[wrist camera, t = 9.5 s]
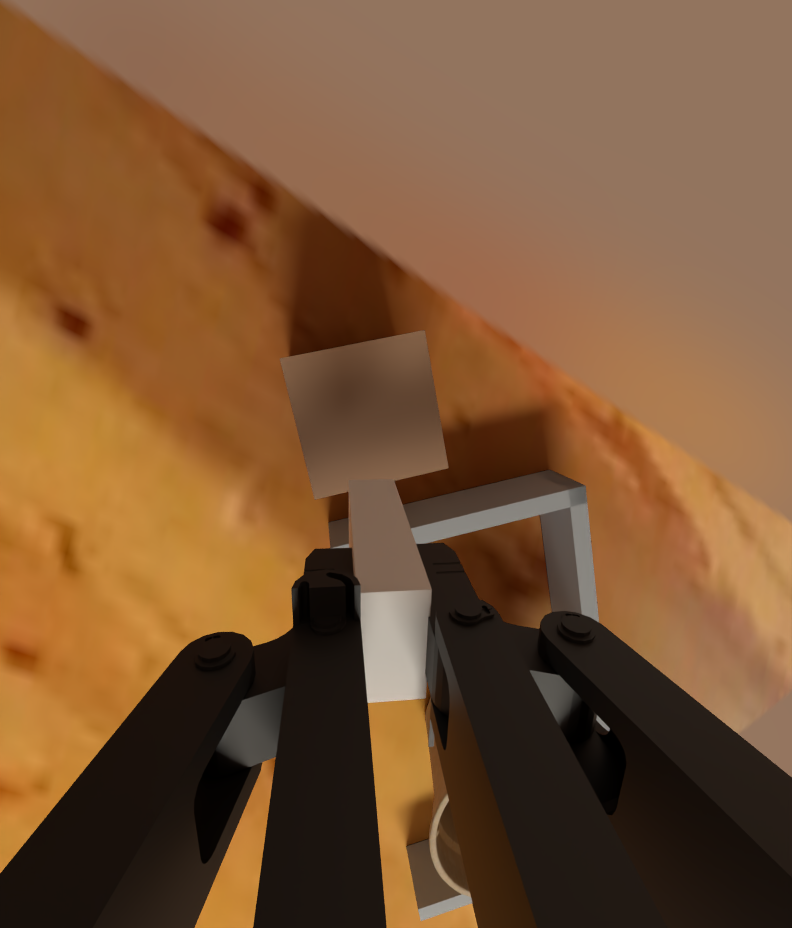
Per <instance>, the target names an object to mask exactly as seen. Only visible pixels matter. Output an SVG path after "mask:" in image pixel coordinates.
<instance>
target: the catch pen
mask: <svg viewBox="0 0 792 928" xmlns="http://www.w3.org/2000/svg"><path fill="white" fill-rule="evenodd" d="M403 508H404V511H405V513H406V516H407V519H408V522H409V525H410V528H411V531H412V534H413V537H414V539H415V542H416V544H425V543H429V542H433V541H437V540H441V539H445V538H449V537H453V536H457V535H461V534H465V533H469V532H473V531H477V530H481V529H485V528H489V527H493V526H497V525H501V524H505V523H509V522H513V521H517V520H521V519H525V518H529V517H533V516H537V515H540V519H541V527H542V535H543V543H544V551H545V559H546V567H547V575H548V583H549V591H550V599H551V607H552V612H557V611H571V612H576V613H580V614H582V615H585V616H588V617H591V618H592V619H594V620H596V621H597V622H599V618H598V607H597V597H596V587H595V577H594V567H593V557H592V547H591V537H590V526H589V516H588V506H587V496H586V486H585V485H583V484H581V483H578V482H576V481H574V480H572V479H570V478H567V477H565V476H563V475H561V474H558V473H556V472H554V471H552V470H546V471H542V472H538V473H534V474H529V475H525V476H521V477H517V478H513V479H508V480H504V481H500V482H496V483H492V484H488V485H483V486H479V487H475V488H471V489H467V490H462V491H458V492H454V493H450V494H446V495H441V496H437V497H433V498H429V499H425V500H421V501H416V502H412V503H408V504H404V505H403ZM328 523H329V536H330V548H349V518H345V519H341V520H337V521H333V522H328ZM596 720H597V721H598V722H599V723H600V724H601V725H602V727H604V728H605V729H606V730H607V731H609V730H610V729H609V727H608V726H607V725H606V724H605V723H604V722H603V721H602V720H601V719H600V718H599V717H598V716H597V719H596ZM406 847H407V853H408V858H409V863H410V869H411V874H412V879H413V885H414V890H415V895H416V901H417V906H418V911H419V915H420V919H421V921H422V920H425V919H428V918H431V917H434V916H437V915H440V914H442V913H445V912H448V911H451V910H454V909H457V908H460V907H462V906H465V905H468V904H471V903H472V899H471V897H469V896H466V895H463V894H461V893H459V892H457V891H456V890H454V889H453V888H452V887H450V886H449V885H448V884H447V883H446V882H445V881H444V880H443V879H442V878H441V876H440V875H439V874H438V872H437V870H436V868H435V866H434V863H433V861H432V857H431V853H430V846H429V839H427V840H424V841H421V842H418V843H415V844H412V845H409V846H406Z"/></svg>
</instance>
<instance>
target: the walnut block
mask: <svg viewBox="0 0 792 928" xmlns="http://www.w3.org/2000/svg"><path fill="white" fill-rule="evenodd" d="M280 362H281V366H282V370H283V374H284V378H285V382H286V386H287V390H288V394H289V398H290V402H291V406H292V410H293V414H294V418H295V422H296V426H297V430H298V434H299V438H300V442H301V446H302V450H303V454H304V458H305V462H306V466H307V470H308V474H309V479H310V483H311V487H312V491H313V495H314V499H315V500H316V499H320V498H324V497H328V496H333V495H337V494H341V493H345V492H349V491H348V480H373V479H394V481H396V480H401V479H405V478H409V477H413V476H418V475H422V474H426V473H430V472H435V471H439V470H443V469H447V468H448V462H447V456H446V450H445V444H444V439H443V433H442V427H441V421H440V416H439V410H438V404H437V398H436V392H435V387H434V381H433V375H432V369H431V363H430V358H429V352H428V346H427V340H426V335H425V330H422V331H417V332H412V333H407V334H402V335H397V336H391V337H386V338H381V339H376V340H371V341H366V342H361V343H356V344H351V345H346V346H341V347H336V348H331V349H326V350H320V351H315V352H310V353H305V354H300V355H295V356H290V357H285V358H280Z"/></svg>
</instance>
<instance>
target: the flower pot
mask: <svg viewBox="0 0 792 928" xmlns="http://www.w3.org/2000/svg"><path fill="white" fill-rule="evenodd" d="M430 706H431V698H430V701H429V703H428V707H427V709H426V713H425V720H426V726H427V734H428V743H429V723H430ZM429 752H430V760H431V769H432V778H433V787H434V801H433V808H432V819H431V823H430V830H429V846H430V853H431V857H432V861H433V863H434V866H435V868H436V870H437V872H438V874H439V875H440V876H441V878H442V879H443V880H444V881H445V882H446V883H447V884H448V885H449V886H450V887H452V888H453V889H454V890H456V891H457V892H459V893H461V894H463V895H466V896H469V897H471V895H470V890H469V886H468V882H467V877H466V873H465V869H464V864H463V860H462V855H461V851H460V847H459V842H458V838H457V834H456V829H455V825H454V820H453V816H452V812H451V807H450V803H449V799H448V794H447V790H446V785H445V781H444V777H443V772H442V768H441V764H440V759H439V755H438V750H437V746H436V742H435V737H434V747H429Z"/></svg>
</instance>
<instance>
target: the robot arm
mask: <svg viewBox="0 0 792 928" xmlns="http://www.w3.org/2000/svg"><path fill="white" fill-rule="evenodd" d="M348 491H349V548H328V549H314V550H313V551H312V553H311V554H310V555H309V556H308V557H307V558H306V561H305V569H304V575H303V576H302V577H300V578H299V579H298V580H296V581H295V583H294V585H293V587H292V609H293V628H292V629H291V630H290V631H288V632H287V633H286V634H285V635H283V636H281V637H279V638H277V639H275V640H272V641H270V642H267V643H263V644H260V645H256V646H253V645H252V642H251V640H249V639H248V638H247V637H245V636H244V635H242V634H238V633H234V632H217V633H213V634H209V635H206V636H203V637H201V638H199V639H197V640H195V641H193V642H191V643H190V644H188V645H187V646H186V647H185V648H184V649H183V650H182V651H181V652H180V653H179V654H178V655H177V656H176V658H175V659H174V660H173V661H172V663H171V664H170V665H169V666H168V667H167V669H166V670H165V671H164V672H163V674H162V675H161V676H160V677H159V679H158V680H157V681H156V682H155V684H154V685H153V686H152V687H151V688H150V690H149V691H148V692H147V693H146V695H145V696H144V697H143V698H142V700H141V701H140V702H139V703H138V704H137V706H136V707H135V708H134V709H133V711H132V712H131V713H130V714H129V716H128V717H127V718H126V719H125V720H124V722H123V723H122V724H121V725H120V727H119V728H118V729H117V730H116V732H115V733H114V734H113V735H112V737H111V738H110V739H109V740H108V741H107V743H106V744H105V745H104V746H103V748H102V749H101V750H100V751H99V753H98V754H97V755H96V756H95V757H94V759H93V760H92V761H91V762H90V764H89V765H88V766H87V767H86V769H85V770H84V771H83V772H82V773H81V775H80V776H79V777H78V778H77V780H76V781H75V782H74V783H73V785H72V786H71V787H70V788H69V790H68V791H67V792H66V793H65V794H64V796H63V797H62V798H61V799H60V801H59V802H58V803H57V804H56V806H55V807H54V808H53V809H52V810H51V812H50V813H49V814H48V815H47V817H46V818H45V819H44V820H43V822H42V823H41V824H40V825H39V826H38V828H37V829H36V830H35V831H34V833H33V834H32V835H31V836H30V838H29V839H28V840H27V841H26V843H25V844H24V845H23V846H22V847H21V849H20V850H19V851H18V852H17V854H16V855H15V856H14V857H13V859H12V860H11V861H10V862H9V863H8V865H7V866H6V867H5V868H4V870H3V871H2V872H1V873H0V928H194V927H195V925H196V922H197V920H198V918H199V915H200V913H201V911H202V908H203V906H204V903H205V901H206V899H207V896H208V894H209V892H210V889H211V887H212V884H213V882H214V880H215V877H216V875H217V873H218V870H219V868H220V866H221V863H222V861H223V858H224V856H225V854H226V851H227V849H228V847H229V844H230V842H231V840H232V837H233V835H234V832H235V830H236V828H237V825H238V823H239V821H240V818H241V816H242V814H243V811H244V809H245V806H246V804H247V802H248V799H249V797H250V795H251V792H252V790H253V787H254V785H255V783H256V780H257V778H258V776H259V773H260V771H261V766H262V762H264V761H266V760H269V759H271V758H274V757H276V760H275V768H274V775H273V783H272V790H271V798H270V805H269V813H268V820H267V828H266V836H265V843H264V851H263V858H262V866H261V873H260V881H259V888H258V896H257V904H256V911H255V919H254V926H253V928H386V916H385V904H384V892H383V880H382V868H381V857H380V845H379V833H378V821H377V809H376V797H375V785H374V773H373V762H372V750H371V738H370V726H369V714H368V703H373V702H386V701H399V700H412V699H424V698H426V687H427V682H428V686H429V690H430V694H431V706H430V723H429V747H434V737H435V742H436V746H437V750H438V755H439V759H440V764H441V768H442V772H443V777H444V781H445V785H446V790H447V794H448V799H449V803H450V807H451V812H452V816H453V820H454V825H455V829H456V834H457V838H458V842H459V847H460V851H461V855H462V860H463V864H464V869H465V873H466V877H467V882H468V886H469V890H470V895H471V899H472V904H473V908H474V912H475V917H476V921H477V925H478V928H792V777H790V776H789V775H788V774H787V773H785V772H784V771H783V770H782V769H780V768H779V767H778V766H777V765H775V764H774V763H773V762H772V761H771V760H769V759H768V758H767V757H766V756H764V755H763V754H762V753H761V752H759V751H758V750H757V749H756V748H754V747H753V746H752V745H751V744H749V743H748V742H747V741H746V740H744V739H743V738H742V737H741V736H740V735H738V734H737V733H736V732H735V731H733V730H732V729H731V728H730V727H728V726H727V725H726V724H725V723H723V722H722V721H721V720H720V719H718V718H717V717H716V716H715V715H714V714H712V713H711V712H710V711H709V710H707V709H706V708H705V707H704V706H702V705H701V704H700V703H699V702H697V701H696V700H695V699H694V698H692V697H691V696H690V695H689V694H687V693H686V692H685V691H684V690H683V689H681V688H680V687H679V686H678V685H676V684H675V683H674V682H673V681H671V680H670V679H669V678H668V677H666V676H665V675H664V674H663V673H661V672H660V671H659V670H658V669H656V668H655V667H654V666H653V665H652V664H650V663H649V662H648V661H647V660H645V659H644V658H643V657H642V656H640V655H639V654H638V653H637V652H635V651H634V650H633V649H632V648H630V647H629V646H628V645H627V644H625V643H624V642H623V641H622V640H621V639H619V638H618V637H617V636H616V635H614V634H613V633H612V632H611V631H609V630H608V629H607V628H606V627H604V626H603V625H602V624H600V623H599V622H597V621H596V620H594V619H592V618H591V617H588V616H585V615H582V614H580V613H576V612H571V611H557V612H552V613H550V614H547V615H545V616H544V618H543V619H542V621H541V623H540V629H536V628H529V627H523V626H517V625H513V624H509V623H506V622H503V620H502V618H501V617H500V615H499V613H498V612H497V611H496V610H495V608H494V607H493V606H491V605H490V604H488V603H486V602H484V601H482V600H479V599H478V597H477V595H476V593H475V591H474V589H473V587H472V585H471V583H470V581H469V579H468V577H467V575H466V573H465V572H464V569H463V567H462V565H461V564H460V561H459V559H458V557H457V555H456V553H455V551H453V550H452V549H451V548H449V547H448V546H447V545H445V544H444V543H428V544H416V542H415V539H414V537H413V534H412V531H411V528H410V525H409V522H408V519H407V516H406V513H405V511H404V508H403V505H402V502H401V499H400V496H399V493H398V490H397V487H396V485H395V482H394V479H373V480H348ZM597 716H598V717H599V718H600V719H601V720H602V721H603V722H604V723H605V724H606V725H607V726H608V727H609V728H610V730H609V731H607V730H606V729H605V728H604V727H602V725H601V724H600V723H599V722H598V721H597V720H596V719H597Z"/></svg>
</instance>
